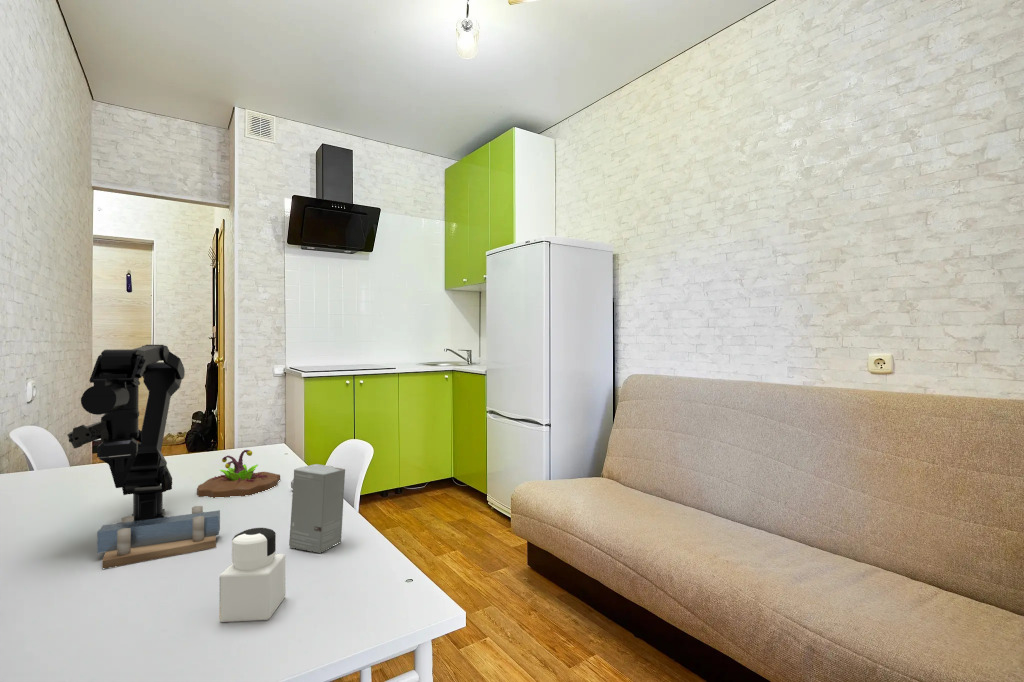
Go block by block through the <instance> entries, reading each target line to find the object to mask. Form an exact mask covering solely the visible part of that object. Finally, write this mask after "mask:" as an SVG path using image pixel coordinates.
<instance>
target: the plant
mask: <svg viewBox="0 0 1024 682" xmlns="http://www.w3.org/2000/svg"><path fill="white" fill-rule="evenodd" d="M245 453H246V455H247V456H250V457H251V456H252V455H253V451H252V450H250V449H244V450H243V451H241V453H240V454H239V457H238V460H237V459H236V458H235V457H234V456H232V455H225V456H224V457H222V459H221V461H222V463H225V465H224V468H225V469H219V471H220V472H221V473H223V474H220V475H218V476H214V477H211V478H209V479H207V480H205V481H204V482H203V483H200V484H198V486H197V488H196V495H197V496H198V498H205V497H204V496H208V497H207V498H211V497H213V498H212V499H216V498H215V497H224V498H231V497H230V496H241V497H246V496H245V495H251V496H253V495H252V494H254V495H256V494H255V493H257V494H259V493H258V492H261V493H263V492H262V491H265V490H268V489H270V488H272V487H274V486H276V485H277V484H278V485H279V482H280V481H281V474H278V473H273V472H270V471H269V472H268V471H258V472H254V471H255V470H256V468H257V467H258V466H259V464H255V465H252V466H251V467H249V468H248V467H247V464H244V463H243V462H244V460H243V459H244V458H243V457H244V454H245ZM228 458H229V459H230V461H228ZM227 461H228V462H227ZM232 464H233V466H234V467H231V466H232ZM226 469H227V470H226ZM279 480H280V481H279ZM278 481H279V482H278ZM278 485H277V486H278ZM277 486H276V487H277ZM274 488H275V487H274ZM272 489H273V488H272ZM270 490H271V489H270ZM268 491H269V490H268ZM265 492H266V491H265Z"/></svg>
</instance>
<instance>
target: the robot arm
mask: <svg viewBox="0 0 1024 682" xmlns="http://www.w3.org/2000/svg"><path fill="white" fill-rule="evenodd" d="M181 359H182V358H180V357H179V356H177V355H176V354H174V353H172V352H171V351H170V349H169V347H168V346H167V345H165V344H144V345H142V346H139V347H136V348H135V347H134V348H132V349H129V348H127V349H123V348H122V349H121V348H120V349H103V350H102V351H101V353H100V354H99V355H98V356H97V359H96V360H95V364H94V367H93V370H92V372H91V375H90V378H89V384H90V383H91V384H93V385H92V386H90V387H88V388H86V389H85V390H84V392H83V393H82V396H81V397H80V404H81V407H82V408H83V410H84V411H86V412H87V413H89V414H90V415H91V414H92V415H97V416H98V415H99V416H101V415H102V416H101V418H100V421H98V422H95V423H92V424H89V425H85V424H81V425H79V426H75V427H73V428H72V431H70V432H69V433H67V434H66V435H67V438H68V442H69V443H70V444H71V445H72V448H73V449H74V450H75V449H78V448H80V447H83V446H84V445H85V444H88V443H92V442H94V441H97V440H99V439H100V444H98V446H97V447H96V458H98V459H99V460H100V461H102V462H104V463H105V464H107V465H108V466H109V470H110V473H111V477H112V480H113V483H114V486H115V488H116V489H120V488H121V489H122V495H123V496H127V495H132V513H131V515H130V516H134V521H140V520H148V519H156V518H163V517H165V513H166V509H165V508H163V500H164V499H163V498H164V497H163V495H164V494H163V493H165V492H167V491H171V490H173V477H172V475H171V472H170V470H169V468H168V465H167V464H168V462H167V460H166V459H165V456H164V455H163V453H162V448H163V442H164V435H165V431H166V425H167V420H168V415H169V407H170V404H171V398H172V397H173V395H174V394H175V393H176V392H177V391H178V390H179V389H180V388H181V384H182V380H184V378H185V374H186V373H185V372H186V371H185V370H186V369H185V367H184V364H183V362H182V360H181ZM142 378H143V384H144V385H145V387H146V389H147V391H148V396H147V401H146V406H145V411H144V415H143V421H142V425H141V430H140V429H139V417H140V410H139V395H140V394H139V388H140V387H139V386H140V385H141V382H140V379H142Z"/></svg>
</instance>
